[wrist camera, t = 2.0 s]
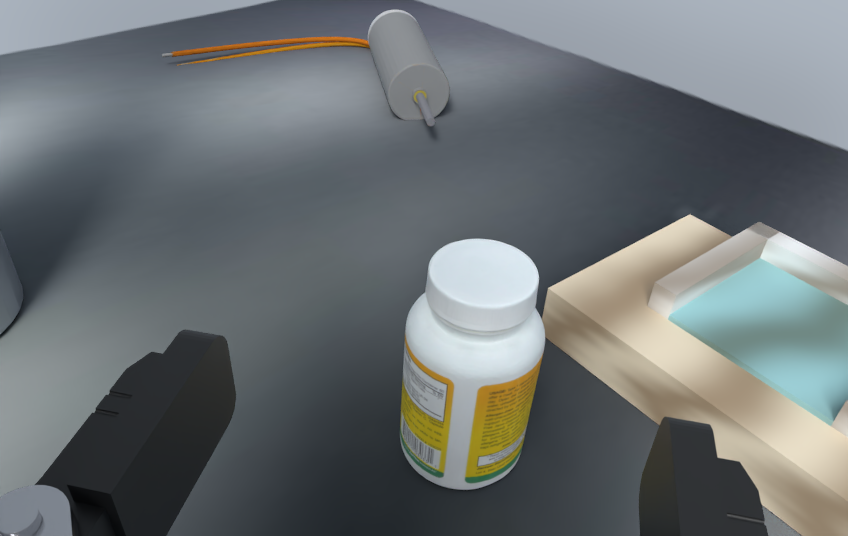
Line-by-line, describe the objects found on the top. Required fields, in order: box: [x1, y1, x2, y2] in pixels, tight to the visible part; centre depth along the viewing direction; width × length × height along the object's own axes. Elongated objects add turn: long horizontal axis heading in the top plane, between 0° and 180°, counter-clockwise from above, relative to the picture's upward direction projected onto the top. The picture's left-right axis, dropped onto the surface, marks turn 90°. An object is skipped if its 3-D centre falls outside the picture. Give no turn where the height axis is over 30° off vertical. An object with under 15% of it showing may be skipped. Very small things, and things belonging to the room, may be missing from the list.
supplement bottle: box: [400, 239, 545, 490], centre depth 28 cm, size 5×5×10 cm
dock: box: [542, 215, 848, 536], centre depth 33 cm, size 18×12×4 cm
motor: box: [162, 10, 450, 126], centre depth 59 cm, size 23×22×5 cm
